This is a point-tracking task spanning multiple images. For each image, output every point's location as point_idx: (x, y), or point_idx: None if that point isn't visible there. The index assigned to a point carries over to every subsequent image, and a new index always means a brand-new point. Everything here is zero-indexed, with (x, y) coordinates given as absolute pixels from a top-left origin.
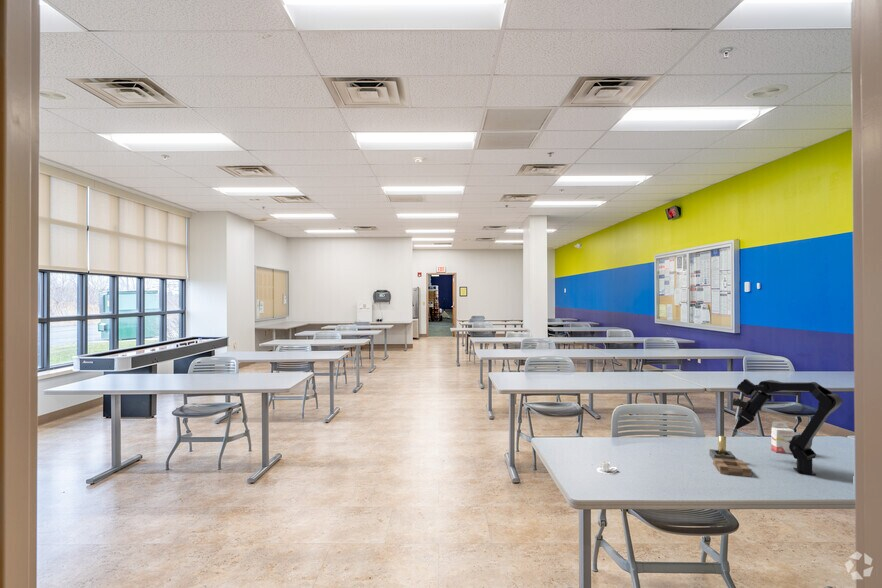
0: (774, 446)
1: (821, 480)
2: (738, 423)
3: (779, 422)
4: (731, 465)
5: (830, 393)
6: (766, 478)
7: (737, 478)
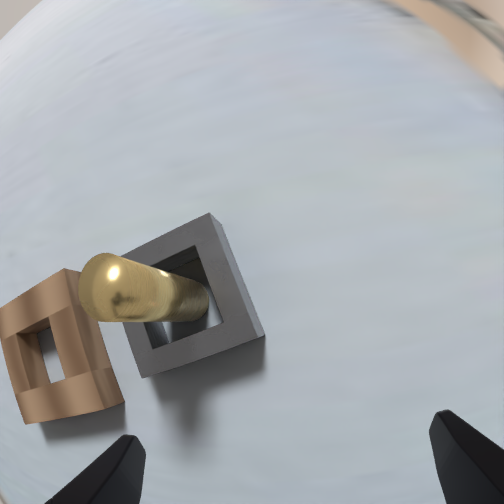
0: None
1: None
2: (68, 497)
3: None
4: (20, 353)
5: None
6: (62, 467)
7: None
